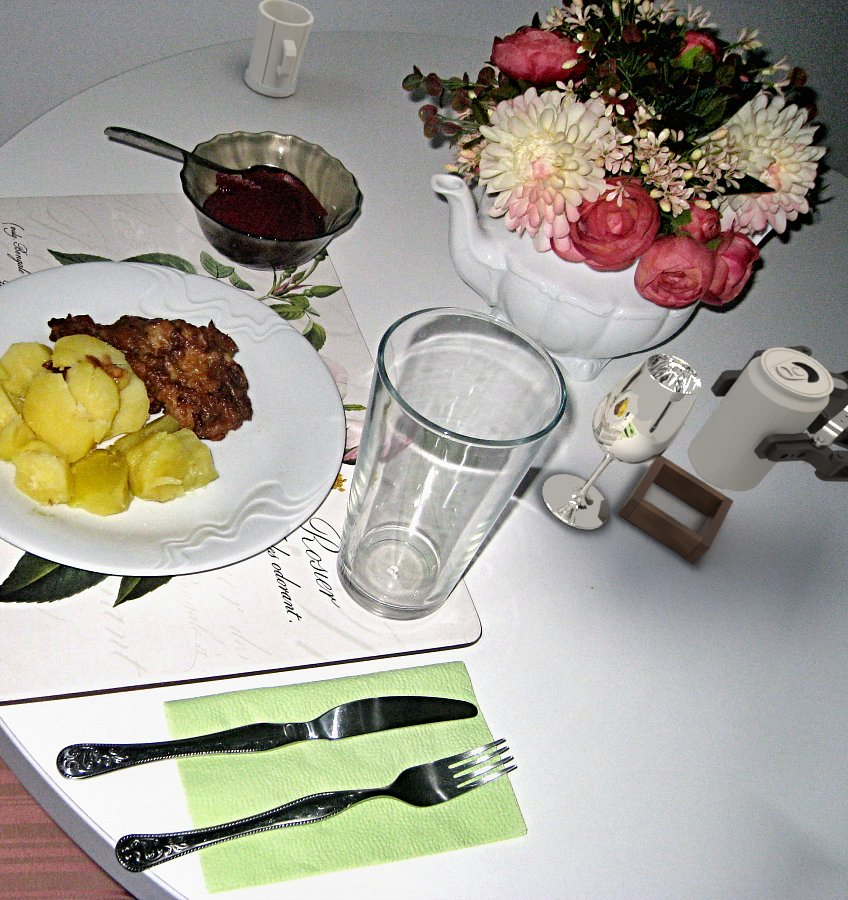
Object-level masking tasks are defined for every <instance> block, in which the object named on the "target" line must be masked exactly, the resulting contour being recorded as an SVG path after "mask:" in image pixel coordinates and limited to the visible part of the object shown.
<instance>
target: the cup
mask: <svg viewBox="0 0 848 900" xmlns="http://www.w3.org/2000/svg"><path fill="white" fill-rule="evenodd" d="M256 15H257V17H256V23H255V30H254V31H255V32H254V37H253V44H252V50H251V55H250V59H249V64H248V66H249V74H250V76H251V77H252V78H253V79H254V80H256V81H257V82H259V85H260V84H262V86H263V85H265V86H263V87H266V86H267V88H269V87H273V88H272V89H274V88H282V87H283V88H284V87H287V86H289V85H292V84H293V83H294V82H295V80H296V78H297V76H298V73H299V69H300V66H301V61H302V58H303V55H304V51H305V49H306V45H307V42H308V40H309V37H310V33H311V30H312V28H313V24H314V21H315V17H314V14H313V13H312V12H311V11H310V10H309V9H307V8H306V7H305V6H302V5H301V4H298V3H296V2H294V1H290V0H263V1H262V0H261V2H259V4H258V8H257V14H256ZM243 77H244V81H245V83H246V84H247V86H248V87H249V88H250V89H252V91H254V92H256V93H257V94H260V95H263V96H267V97H270V98H286V97H290V96H291V95H293V94H294V93H295V92H293V91H291V92H287V93H274V92H269V91H266V90H263V89H260V88H258V87H256V86H254V85H253V84H251V83H250V82H249V81H248V80H247V78H246V77H245V74H244V76H243ZM250 79H251V78H250ZM254 82H255V81H254ZM269 89H271V88H269Z"/></svg>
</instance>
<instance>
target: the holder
mask: <svg viewBox="0 0 848 900" xmlns="http://www.w3.org/2000/svg"><path fill="white" fill-rule="evenodd" d="M653 483H655V484H656V485H658V486H659V487H661V488H663V489H664V490H665V491H667V492H668V493H671V494H672V495H674V496H675V497H677V498H678V499H680V500H682V501H683V502H684V503H686V504H688V505H689V506H690V507H692V508H694V509H695V510H697V511H699V512H700V513H702V514H703V515H705V516H707V517H706V519H705V521H704V522H703V525H702V526H701V528H700V530H699V532H698V533H697V532H696V531H695V530H692V529H691V528H690V527H688V526H686V525H685V524H684V523H682V522H680V520H677V519H676V518H674V517H673V516H671V515H669V514H668V513H666V512H665V511H663V510H662V509H660V508H659V507H657V506H656V505H655V504H653V503H651V502H650V501H648V500H647V499H645V498H644V497H645V496H646V494H647V492H648V490H649V489H650V487H651V485H652V484H653ZM733 503H734V500H733V499H731V498H730V497H728V496H727V495H725V494H723V492H721V491H720V490H718V489H716V488H715V487H714V486H712V485H710V484H709V483H707V482H706V481H704V480H702V479H700V478H698V477H697V476H695V475H693V474H692V473H690V472H689V471H687V470H686V469H684V468H682V467H681V466H679V465H678V464H676V463H674V462H673V461H672V460H669V459H668V458H666V457H665V456H663V454H662V455H661V456H659V457H658V458H656V459H654V460H652V461H651V463H650V464H649V465H648V467H646V469H645V470H644V472H643V473H642V475H641V477H640V478H639V480H638V481H637V483H636V484H635V486H634V487H633V489H632V491H631V492H630V493H629V495H628V497H627V498H626V500H625V502H624V503H623V504H622V506H621V508H620V509H619V511H618V512H617V514H618V515H619V516H620V517H622V518H623V519H624V520H626V521H628V522H630V523H631V524H633V525H634V526H636V527H637V528H639V529H640V530H641V531H643V532H644V533H646V534H648V535H649V536H651V537H653V538H654V539H656V540H657V541H658V542H660V543H662V544H663V545H665V546H666V547H668V548H669V549H670V550H672V551H673V552H675V553H677V554H678V555H680V556H681V557H683V558H684V559H685V560H686V561H688V562H690V563H692V564H694V565H695V564H696V563H697V562H698V561H699V560H700V559H701V558H702V557H703V556H704V555H705V554H706V553H707V552H708V551H709V550H710V549H711V546H712V545H713V544H714V541H715V539H716V537H717V535H718V533H719V531H720V529H721V528H722V525H723V524H724V521H725V519H726V517H727V515H728V513H729V511H730V509H731V507H732V506H733Z"/></svg>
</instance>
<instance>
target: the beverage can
mask: <svg viewBox="0 0 848 900" xmlns="http://www.w3.org/2000/svg"><path fill="white" fill-rule="evenodd" d="M767 349H768V350H766V349H765V350H766V351H765V352H764V353H763V354H762V355H761V356H759V357H757V358H755V359H753V360H752V361H751V362H750V363H749V364H748V366H747V367H746V368H745V370H744V371H743V372H742V374H741V375H740V376H739V378H738V379H737V381H736V382H735V383H734V385H733V386H732V387H731V389H730V390H729V391H728V393H727V394H726V395H725V397H722V399H721V401H720V402H719V403H718V405H716V407H715V409H714V410H713V412H712V413H711V414H710V416H708V418H707V420H706V421H705V422H704V423H703V425H702V427H701V428H700V429H699V430H698V432H697V433H696V434H695V436H694V437H693V439H692V440H691V441H690V443H689V444H688V447H687V457H688V460H689V462H690V465H691V467H692V469H693V471H694V472H695V474H697V475H698V476H699V477H700V478H701V480H702V481H704V482H705V483H706V484H708V485H710V486H712V487H714V488H718V489H720V490H721V489H722V490H727V491H731V492H747V491H751V490H753V489H754V488H756V487H757V486H758V485H759V484H761V482H762V481H763V479H764V478H765V477H766V476H767V475H768V474H769V473H770V471H771V470H772V469H773V468H774V467H775V466H776V465H777V464H778V462H773V461H769V460H768V459H759V458H758V456H757V455H756V454H755V452H754V450H755V448H756V447H757V446H758V445H759V444H760V442H761V441H762V440H763V439H764V438H765V437H766V436H768V435H772V434H796V433H805V431H807V428H808V427H809V425H810V424H811V423H812V422H813V421H814V420H815V419H816V417H817V416H818V415H819V414H820V413H821V412H822V410H823V409H824V408H825V407H826V406H827V404H828V402H829V394H830V393H831V392H832V391H833V388H834V383H833V379H832V377H831V375H830V373H829V372H830V371H829V370H827V368H826V367H825V366H823V364H821V363H820V362H819V361H817V359H815V358H813V357H811V356H808V355H806V354H804V353H801V352H799V351H796V350H793V349H789V348H784V347H780V346H779V347H778V346H777V347H771V348H767ZM828 371H829V372H828Z"/></svg>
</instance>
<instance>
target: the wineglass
mask: <svg viewBox="0 0 848 900" xmlns="http://www.w3.org/2000/svg"><path fill="white" fill-rule="evenodd" d="M702 388H703V381H702V379H701V377H700V375H699V373H698V372H697V371H696V370H695V368H693V366H692V365H690V364H689V363H688V362H687V361H685V360H683V359H681V358H679V357H677V356H675V355H672V354H667V353H662V352H661V353H659V352H658V353H652V354H650V355H649V356H647V357H646V358H645V359H644V360H643V361H642V362H640V363H639V364H638V365H636V366H635V367H634V368H633V369H632V370H631V371H629V372H628V373H627V374H626V375H625V376H624V377H622V378H621V380H619V381H618V382H617V383H616V384H615V385H614V386H613V387H612V388H611V389H610V390H609V391H608V393H606V395H605V396H604V397H603V398H602V399H601V401H600V402H599V403H598V405H597V407H596V408H595V410H594V413H593V418H592V423H591V426H592V427H591V428H592V433H593V438H594V440H595V442H596V445H598V447H599V449H600V450H601V452H603V453H604V456H603V458H602V459H601V461H600V463H599V464H598V465H597V467H596V468H595V470H593V472H592V473H591V475H590V476H589V477H588V478H587V480H585V479H583V478H581V477H578V476H576V475H572V474H565V473H561V474H560V473H559V474H555V475H552V476H550V477H548V478H546V480H545V481H544V483H543V485H542V490H541V493H542V499H543V501H544V503H545V505H546V507H547V508H548V509H549V511H550V513H552V514H553V515H554V516H555V517H556V518H557V519H558V520H560V521H562V522H563V523H565V524H566V525H568V526H571V527H573V528H576V529H579V530H595V529H598V528H600V527H602V526H603V525H604V524H605V523H606V522H607V520H608V518H609V507H608V503H607V501H606V499H605V498H604V496H603V495H602V494H601V492H600V491H599V490H598V489H597V488H596V487H595V486H594V483H595V482H596V481H597V480H598V478H599V477H600V475H602V473H603V472H604V471H605V470H606V468H607V467H608V466H609V465H610V464H611V463H612V462H613V461H616V462H619V463H623V464H628V465H640V464H645V463H649V462H653V461H654V459H656V458H658V457H659V456H661V455H662V456H663V455H664V454H665V453H666V451H668V450H669V449H670V447H671V446H672V445H673V444H674V442H675V440H676V439H677V438H678V437H679V435H680V434H681V432H682V430H683V428H684V426H685V424H686V422H687V421H688V418H689V416H690V414H691V412H692V410H693V408H694V406H695V403H696V401H697V399H698V396H699V395H700V392H701V390H702Z"/></svg>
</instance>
